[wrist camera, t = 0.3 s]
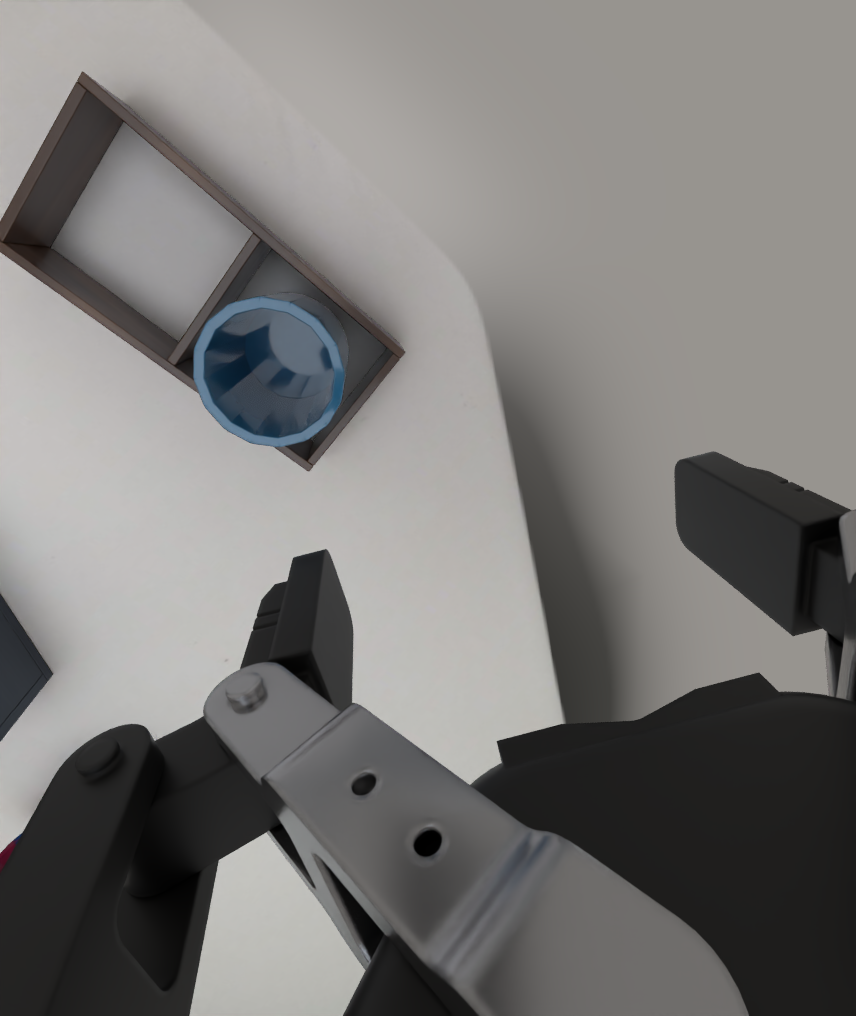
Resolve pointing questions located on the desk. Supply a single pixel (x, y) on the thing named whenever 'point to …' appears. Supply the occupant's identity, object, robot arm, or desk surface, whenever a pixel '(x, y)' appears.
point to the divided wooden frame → (28, 242)
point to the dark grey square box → (17, 670)
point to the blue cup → (272, 368)
